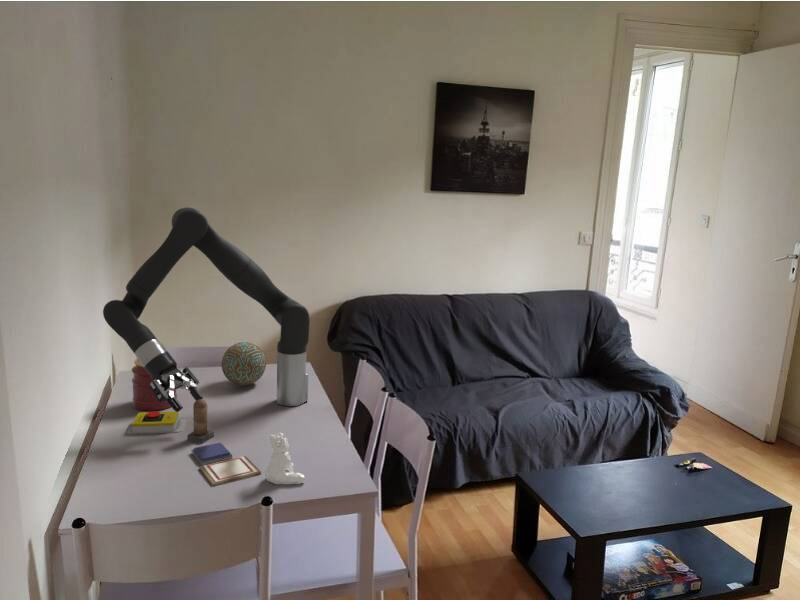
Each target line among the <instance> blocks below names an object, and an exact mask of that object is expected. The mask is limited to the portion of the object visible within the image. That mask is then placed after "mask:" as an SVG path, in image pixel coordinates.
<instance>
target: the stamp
mask: <svg viewBox="0 0 800 600" xmlns="http://www.w3.org/2000/svg"><path fill="white" fill-rule="evenodd" d="M192 408H193V411H192V413H193V431H191V432H190V433H188V434H187V435H186V438H187V441H188V442H189V441H190V442H193V443H194V442H195V443H198V444H204V443H206V442H208V441H209V440H211V439H213V438H214V437H215V431H213V430H208V403H207V401H206V400H205V399H199V400H197V401H196V400H195V401H194V403H193V405H192Z"/></svg>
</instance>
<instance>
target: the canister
mask: <svg viewBox="0 0 800 600" xmlns="http://www.w3.org/2000/svg"><path fill="white" fill-rule="evenodd" d="M133 364H135V365H134V366H132V368H131V372H132V373H133V376H132V379H131V382H132V403H133V407H134V408H135V409H137V410H139V411H145V410H146V411H145V412H153V411H161V410H166V409H168V408H172V407H171V406H170V404H169V403H168V402H166V401H163V402H159V400H158V399H157V397H156V396H155V395H154V393H153V392H152V390H151V389H150V387H149V385H150V384H151V382H152V381H153V379H152V378H151V376H150V375H149V374H148V372H147V371H146V370H145V369H144V367H143V366H142V365H141V363H140V362H139V360H138V359H137V358H136V359H135V360H134V362H133ZM162 388H163V387H162ZM173 392H174V397H176V399H177V400H178V393H177V389H175V390H174V391H173ZM160 395H161V393H160ZM161 396H162V395H161Z"/></svg>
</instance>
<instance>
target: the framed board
mask: <svg viewBox="0 0 800 600" xmlns="http://www.w3.org/2000/svg"><path fill="white" fill-rule="evenodd" d="M198 469H199V471H200V472H201V473H202V474H203V476H204V478H206V479H207V481H208V482H209V483H210V484H211V486H212V487H215V486H219V485H223V484H227V483H231V482H234V481H239V480H242V479H243V480H244V479H247V478H251V477H255V476H258V475H262V471H261V470H260V469H259V468H258V467H257V466H256V465H255V464H254V462H252V461H251V460H250V459H249V458H248V457H247V456H246V455H244V456H239V457H235V458H232V459H228V460H224V461H219V462H215V463H210V464H206V465H202V466H201V465H200V466H199V467H198Z"/></svg>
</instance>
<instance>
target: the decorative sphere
mask: <svg viewBox="0 0 800 600" xmlns="http://www.w3.org/2000/svg"><path fill="white" fill-rule="evenodd" d="M266 367H267V360H266V356H265V354H264V352H263V350H262V349H261V348H260V347H259V346H258V345H256V344H254V343H251V342H247V341H245V342H244V341H243V342H237V343H235V344H233V345H231V346H230V347H228V348H227V349H226V351H225V352H224V354H223V356H222V359H221V371H222V373H223V375H224V377H225V378H226V379H227V380H228V381H229V382H231V383H232V384H234V385H237V386H250V385H252V384H254V383H256V382H258V381H259V380H260V379H261V378H262V376H263V375H264V373H265V370H266Z"/></svg>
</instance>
